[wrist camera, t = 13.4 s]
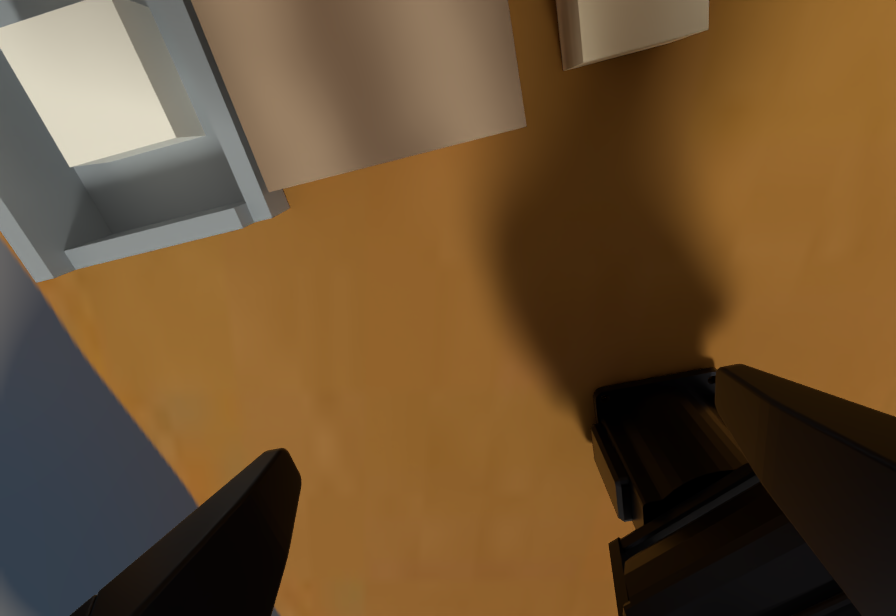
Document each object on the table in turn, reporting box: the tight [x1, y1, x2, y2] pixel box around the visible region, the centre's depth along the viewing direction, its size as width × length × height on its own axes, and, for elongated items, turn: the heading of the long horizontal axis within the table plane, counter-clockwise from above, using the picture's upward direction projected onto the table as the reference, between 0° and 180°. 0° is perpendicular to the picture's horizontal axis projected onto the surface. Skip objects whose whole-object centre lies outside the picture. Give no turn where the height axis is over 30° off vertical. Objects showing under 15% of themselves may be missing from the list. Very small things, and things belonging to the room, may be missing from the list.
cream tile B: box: [0, 0, 206, 167], centre depth 16 cm, size 4×4×2 cm
